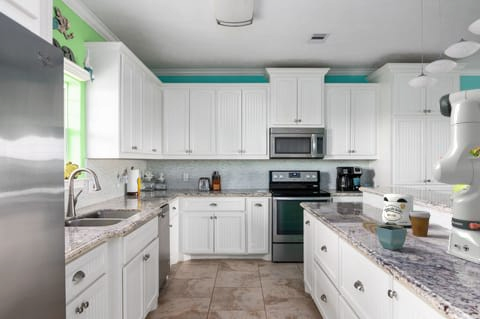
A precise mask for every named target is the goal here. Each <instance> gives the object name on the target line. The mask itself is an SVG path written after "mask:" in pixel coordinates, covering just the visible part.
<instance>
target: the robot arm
mask: <svg viewBox="0 0 480 319" xmlns="http://www.w3.org/2000/svg"><path fill="white" fill-rule="evenodd" d="M438 110H439V112H440V114H441V115H442V116H443V117H446V118H447V117H448V118H450V121H449V122H450V123H449V124H450V138H449V139H450V142H449V147H448V149H447V151H446V152H445V154H443V156H442V157H440V158H439V159H438V160H436V162H434V163H433V166H432V168H431V173H432V176H433V178H434V180H435V181H436V182H437V183H441V184H445V185H456V186H457V185H459V186H464V185H466V186H465V188H460V189H458V190H456V191H455V192H454V193H453V194H452V195H450V197H449V199H450V200H451V201H452V217H451V221H450V222H451V226H452V228H451V230H450V232H449V237H448V247H447V248H448V249H446V250H445V254H448V255H450V256H453V257H456V258H460V259H462V260H465V261H468V262H471V263H475V264H478V265H480V156H475V155H472V154H471V153H470V151H473V150H476V149H477V148H479V147H480V88H475V89H465V90H460V91H455V92H453V93H447V94H444V95H442V96H440V98H439V102H438Z"/></svg>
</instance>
